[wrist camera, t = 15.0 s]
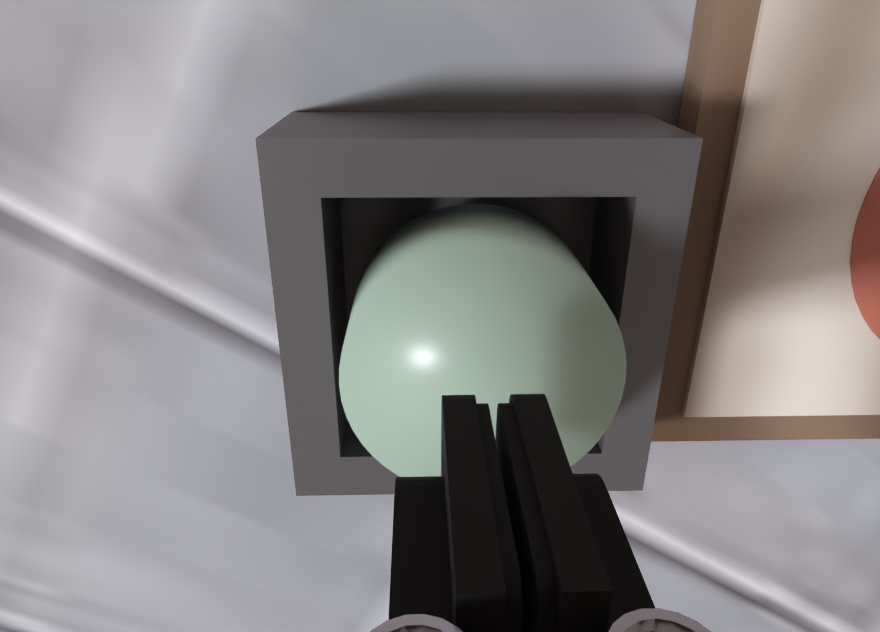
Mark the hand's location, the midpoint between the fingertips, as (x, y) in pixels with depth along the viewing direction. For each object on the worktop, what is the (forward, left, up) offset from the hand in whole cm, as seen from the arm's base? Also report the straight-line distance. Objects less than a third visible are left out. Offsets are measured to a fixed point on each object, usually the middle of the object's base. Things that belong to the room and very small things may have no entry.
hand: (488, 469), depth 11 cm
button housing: (0, 0, -9) cm, 9 cm away
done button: (0, 0, -6) cm, 6 cm away
